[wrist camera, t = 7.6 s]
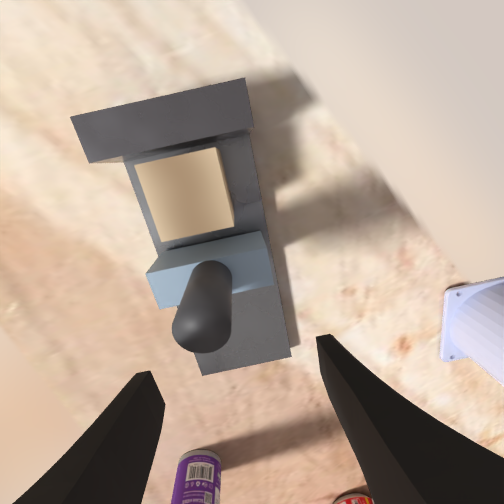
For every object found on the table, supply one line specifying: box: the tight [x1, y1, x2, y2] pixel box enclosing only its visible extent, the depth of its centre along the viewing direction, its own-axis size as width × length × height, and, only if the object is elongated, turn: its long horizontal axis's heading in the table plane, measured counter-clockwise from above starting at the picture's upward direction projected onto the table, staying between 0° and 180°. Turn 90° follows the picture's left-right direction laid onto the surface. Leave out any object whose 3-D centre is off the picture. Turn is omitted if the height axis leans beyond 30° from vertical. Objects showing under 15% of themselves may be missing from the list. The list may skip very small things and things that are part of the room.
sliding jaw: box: [146, 231, 274, 354], centre depth 14 cm, size 7×2×8 cm, turn 102°
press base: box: [70, 78, 292, 376], centre depth 17 cm, size 8×20×5 cm, turn 12°
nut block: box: [134, 147, 234, 242], centre depth 15 cm, size 4×4×4 cm
